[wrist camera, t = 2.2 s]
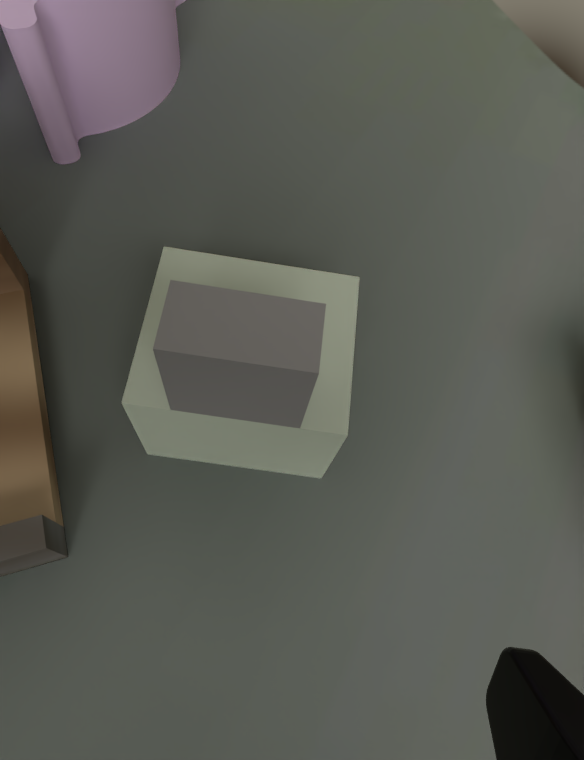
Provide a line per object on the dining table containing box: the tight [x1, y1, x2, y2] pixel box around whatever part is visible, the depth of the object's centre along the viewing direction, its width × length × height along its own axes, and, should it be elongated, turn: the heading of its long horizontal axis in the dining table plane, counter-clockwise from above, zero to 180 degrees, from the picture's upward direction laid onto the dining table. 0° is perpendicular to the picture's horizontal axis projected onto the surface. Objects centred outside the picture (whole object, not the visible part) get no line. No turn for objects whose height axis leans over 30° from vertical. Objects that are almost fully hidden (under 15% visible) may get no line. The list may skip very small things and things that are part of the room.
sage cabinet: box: [121, 247, 359, 478], centre depth 18 cm, size 6×7×10 cm
